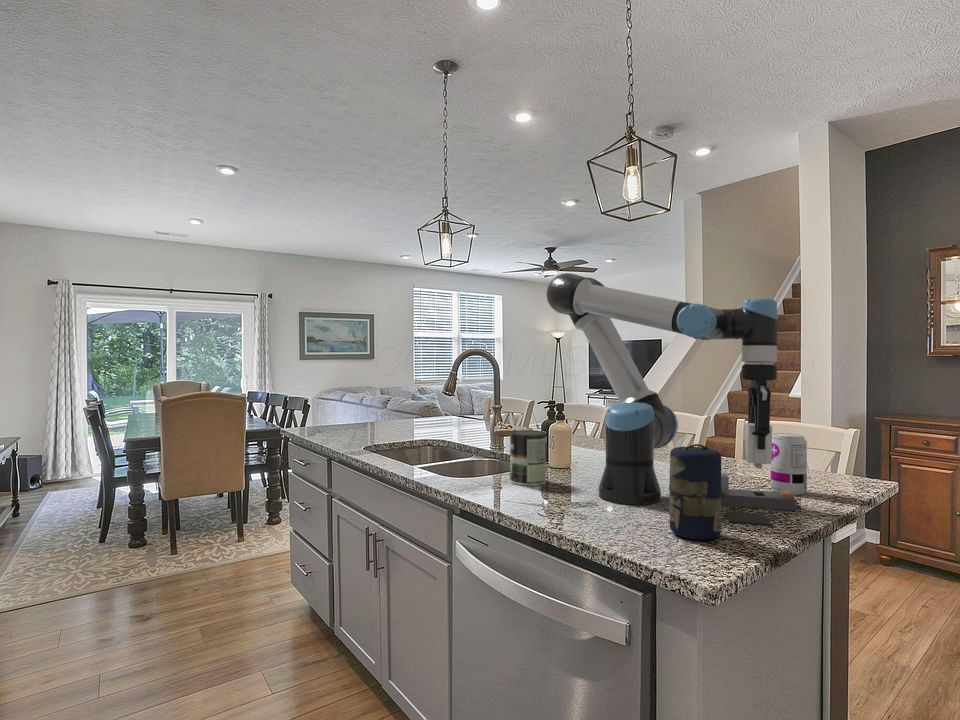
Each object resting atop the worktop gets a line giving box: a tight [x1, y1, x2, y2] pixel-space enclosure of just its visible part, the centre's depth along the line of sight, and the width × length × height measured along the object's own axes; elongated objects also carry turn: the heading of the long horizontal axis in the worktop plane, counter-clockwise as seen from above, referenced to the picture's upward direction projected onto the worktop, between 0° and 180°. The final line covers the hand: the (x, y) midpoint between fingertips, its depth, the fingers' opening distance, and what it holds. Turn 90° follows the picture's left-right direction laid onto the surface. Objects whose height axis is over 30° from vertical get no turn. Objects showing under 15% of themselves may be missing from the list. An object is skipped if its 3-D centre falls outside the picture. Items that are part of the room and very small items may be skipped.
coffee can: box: [509, 429, 547, 487], centre depth 153 cm, size 10×10×14 cm
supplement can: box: [770, 432, 808, 496], centre depth 142 cm, size 8×8×15 cm
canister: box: [668, 443, 722, 541], centre depth 106 cm, size 10×10×18 cm
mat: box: [724, 510, 773, 527], centre depth 117 cm, size 8×8×1 cm
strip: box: [721, 473, 797, 511], centre depth 129 cm, size 26×10×6 cm, turn 73°
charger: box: [744, 422, 773, 469], centre depth 129 cm, size 5×4×10 cm
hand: (757, 460), depth 129 cm, fingers closed on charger, 5 cm apart
